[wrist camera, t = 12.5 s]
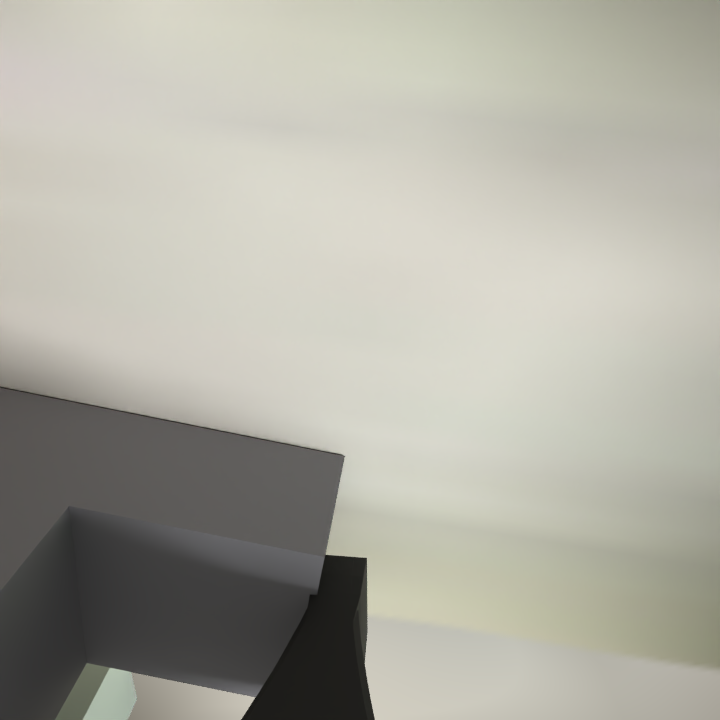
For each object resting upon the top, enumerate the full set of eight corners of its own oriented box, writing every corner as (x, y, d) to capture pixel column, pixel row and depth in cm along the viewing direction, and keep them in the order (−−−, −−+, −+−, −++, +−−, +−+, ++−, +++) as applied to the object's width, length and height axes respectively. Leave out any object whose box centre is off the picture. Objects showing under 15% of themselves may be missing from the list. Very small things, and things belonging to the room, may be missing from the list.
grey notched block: (344, 456, 11) (290, 728, 6) (317, 593, 13) (261, 876, 8) (-60, 375, 11) (-395, 589, 6) (-26, 524, 13) (-266, 769, 8)
